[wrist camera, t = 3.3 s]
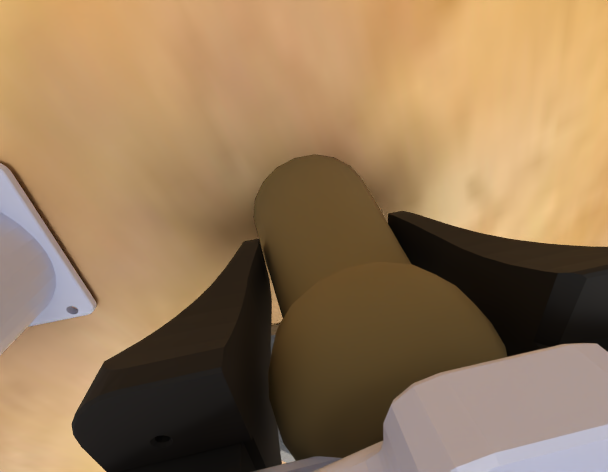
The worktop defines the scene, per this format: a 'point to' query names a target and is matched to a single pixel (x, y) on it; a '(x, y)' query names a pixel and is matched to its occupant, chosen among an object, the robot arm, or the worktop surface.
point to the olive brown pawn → (351, 311)
